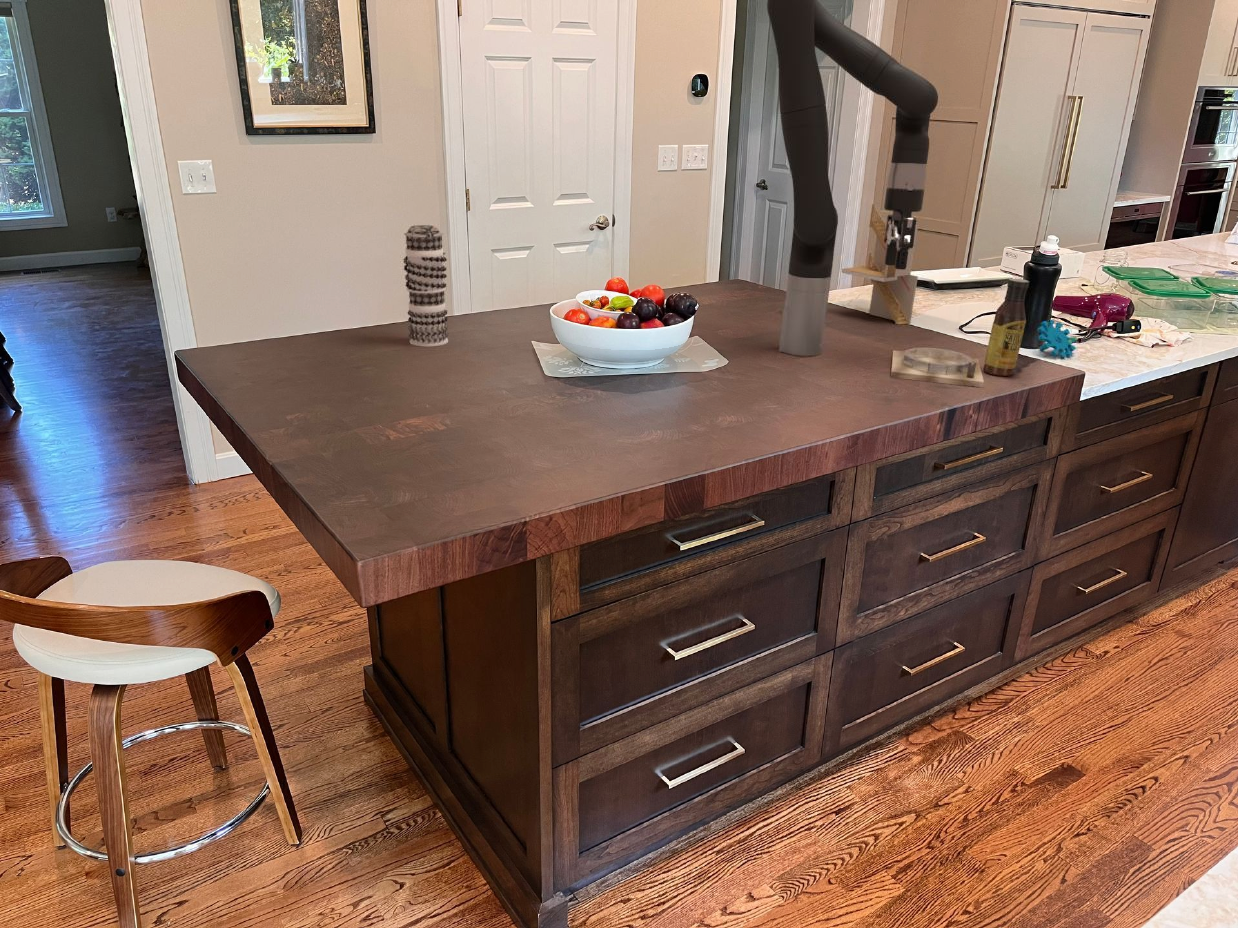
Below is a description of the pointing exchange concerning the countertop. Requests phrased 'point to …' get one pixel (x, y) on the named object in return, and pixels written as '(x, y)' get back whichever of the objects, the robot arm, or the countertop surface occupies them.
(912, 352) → the white segmented ring
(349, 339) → the countertop surface
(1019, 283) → the sauce bottle
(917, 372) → the maple board
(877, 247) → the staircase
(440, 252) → the decorative candle
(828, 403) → the countertop surface
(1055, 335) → the teal virus model
